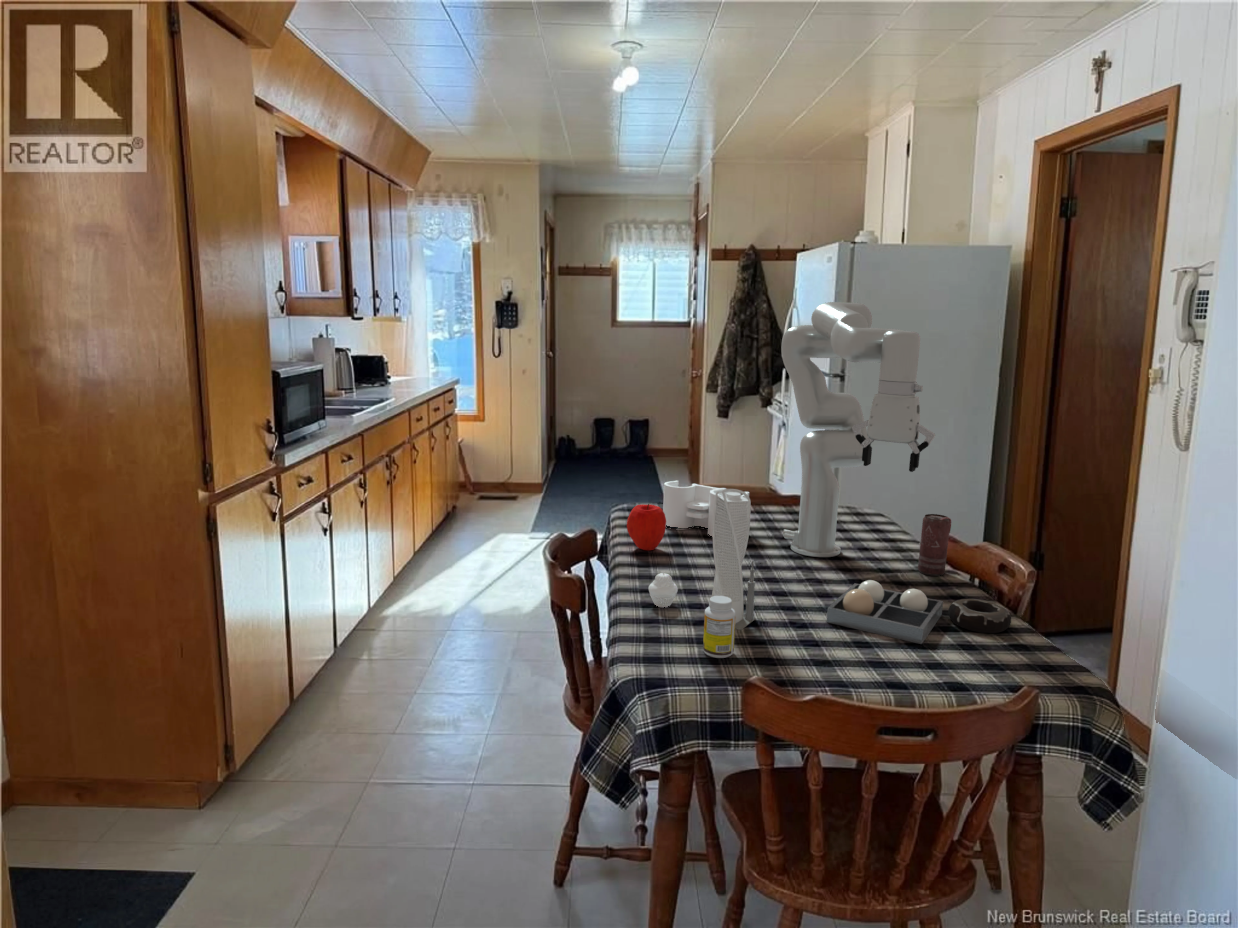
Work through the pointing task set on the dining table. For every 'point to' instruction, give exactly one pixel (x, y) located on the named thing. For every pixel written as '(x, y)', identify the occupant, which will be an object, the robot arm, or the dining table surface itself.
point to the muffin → (663, 590)
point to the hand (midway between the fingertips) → (889, 467)
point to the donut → (979, 615)
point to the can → (934, 544)
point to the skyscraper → (732, 552)
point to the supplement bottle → (719, 627)
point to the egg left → (873, 589)
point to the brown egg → (858, 602)
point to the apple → (646, 526)
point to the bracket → (690, 505)
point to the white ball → (914, 600)
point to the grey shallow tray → (888, 617)
